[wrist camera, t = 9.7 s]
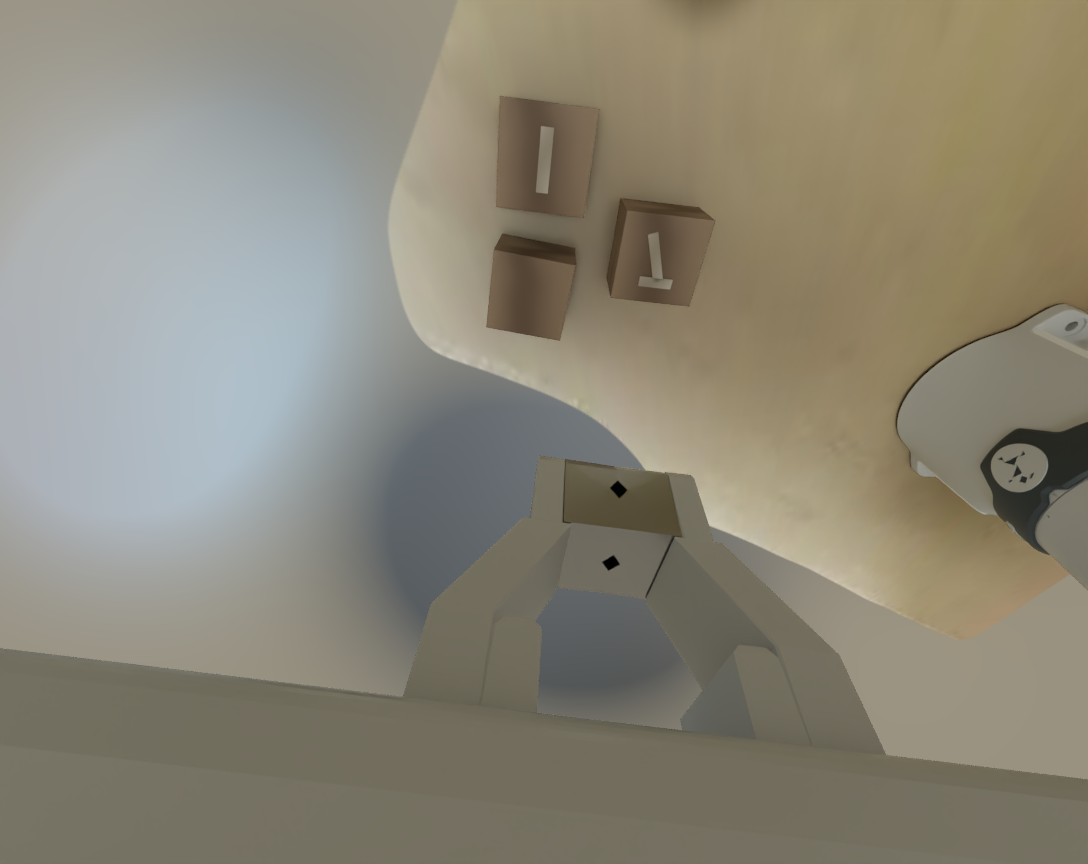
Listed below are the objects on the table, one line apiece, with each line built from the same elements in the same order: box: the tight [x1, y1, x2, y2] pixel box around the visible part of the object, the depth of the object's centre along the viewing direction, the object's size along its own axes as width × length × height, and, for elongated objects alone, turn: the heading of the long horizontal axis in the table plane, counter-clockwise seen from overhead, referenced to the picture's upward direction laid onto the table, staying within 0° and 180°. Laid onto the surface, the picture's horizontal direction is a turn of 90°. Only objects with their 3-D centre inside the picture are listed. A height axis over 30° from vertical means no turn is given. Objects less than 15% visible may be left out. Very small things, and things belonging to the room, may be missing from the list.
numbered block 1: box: [496, 96, 600, 218], centre depth 30 cm, size 6×6×5 cm
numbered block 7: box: [607, 198, 715, 306], centre depth 33 cm, size 6×6×5 cm
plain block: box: [486, 234, 576, 341], centre depth 35 cm, size 6×6×5 cm
